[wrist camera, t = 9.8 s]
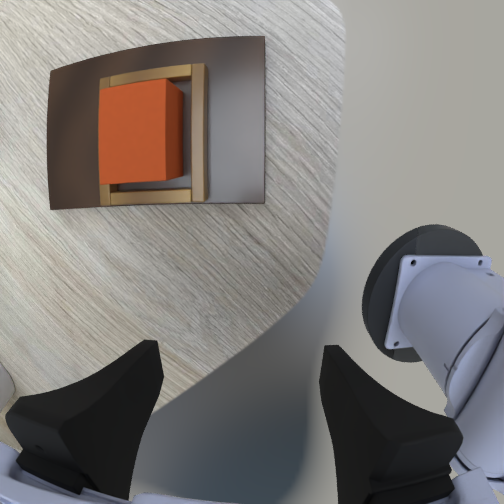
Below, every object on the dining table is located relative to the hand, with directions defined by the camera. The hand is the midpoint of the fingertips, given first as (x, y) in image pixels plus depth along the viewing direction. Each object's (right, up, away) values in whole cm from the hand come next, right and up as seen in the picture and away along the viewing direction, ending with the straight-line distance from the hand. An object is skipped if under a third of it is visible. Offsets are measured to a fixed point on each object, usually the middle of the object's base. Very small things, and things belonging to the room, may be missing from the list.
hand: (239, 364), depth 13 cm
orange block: (-6, +12, +5) cm, 14 cm away
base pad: (-7, +13, +6) cm, 16 cm away
